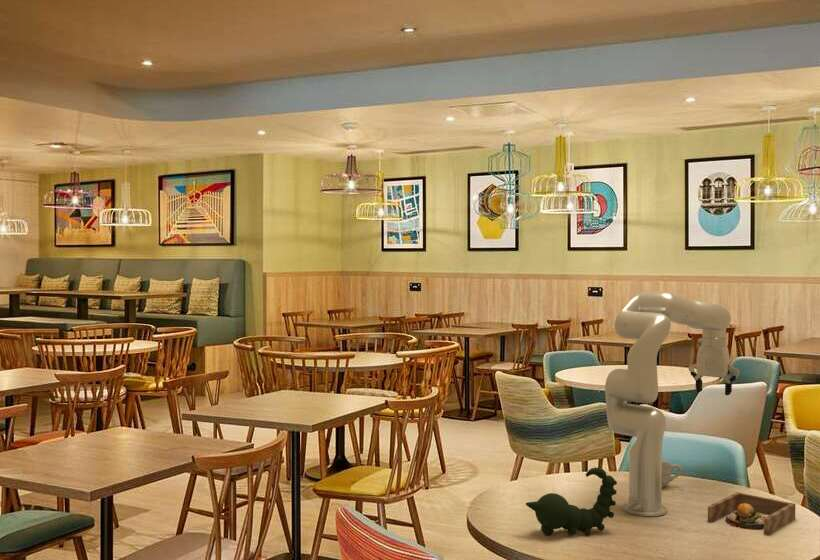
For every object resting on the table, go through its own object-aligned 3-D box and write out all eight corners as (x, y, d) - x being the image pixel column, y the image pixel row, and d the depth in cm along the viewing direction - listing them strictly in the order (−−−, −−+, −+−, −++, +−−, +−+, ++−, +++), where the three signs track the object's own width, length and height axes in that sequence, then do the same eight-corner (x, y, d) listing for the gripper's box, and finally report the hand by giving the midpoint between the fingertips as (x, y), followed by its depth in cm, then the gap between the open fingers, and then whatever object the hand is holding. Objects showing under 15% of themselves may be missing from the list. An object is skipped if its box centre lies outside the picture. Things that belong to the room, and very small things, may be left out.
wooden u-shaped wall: (768, 535, 235) (768, 519, 235) (707, 521, 247) (707, 506, 247) (795, 519, 250) (795, 503, 249) (736, 506, 262) (736, 492, 262)
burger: (778, 528, 242) (779, 502, 242) (743, 532, 239) (743, 505, 239) (750, 515, 254) (750, 491, 253) (716, 519, 250) (717, 494, 250)
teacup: (635, 488, 282) (636, 464, 282) (640, 480, 292) (640, 457, 292) (679, 492, 277) (680, 468, 277) (682, 484, 287) (682, 460, 287)
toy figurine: (602, 531, 244) (517, 528, 239) (609, 464, 244) (523, 460, 239) (616, 542, 235) (528, 539, 230) (623, 472, 234) (535, 468, 230)
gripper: (684, 341, 290) (684, 391, 291) (735, 345, 279) (735, 397, 279) (693, 340, 296) (692, 389, 296) (743, 343, 285) (743, 394, 285)
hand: (713, 393), depth 288 cm, fingers open, 9 cm apart
